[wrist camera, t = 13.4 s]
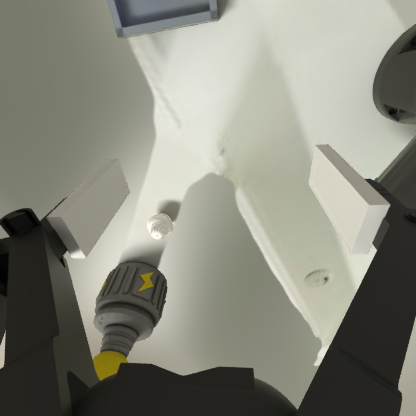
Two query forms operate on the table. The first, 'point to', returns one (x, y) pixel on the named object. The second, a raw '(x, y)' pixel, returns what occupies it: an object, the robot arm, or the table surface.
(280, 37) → the table surface
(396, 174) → the robot arm
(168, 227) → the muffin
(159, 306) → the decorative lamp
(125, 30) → the tray
